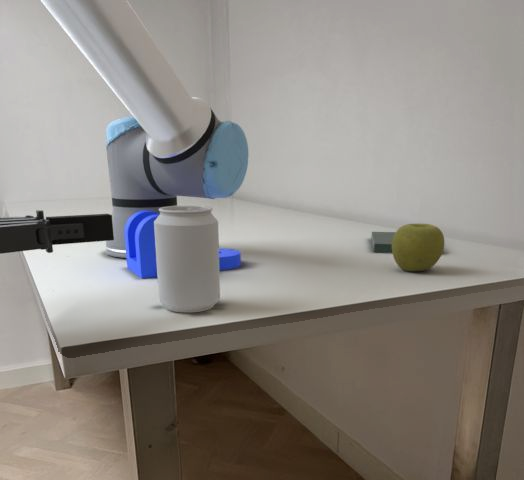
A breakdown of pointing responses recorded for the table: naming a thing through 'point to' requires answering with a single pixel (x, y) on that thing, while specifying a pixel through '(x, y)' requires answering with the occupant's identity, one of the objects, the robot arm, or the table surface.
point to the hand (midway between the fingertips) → (110, 226)
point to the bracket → (144, 248)
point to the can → (187, 258)
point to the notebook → (382, 241)
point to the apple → (417, 246)
